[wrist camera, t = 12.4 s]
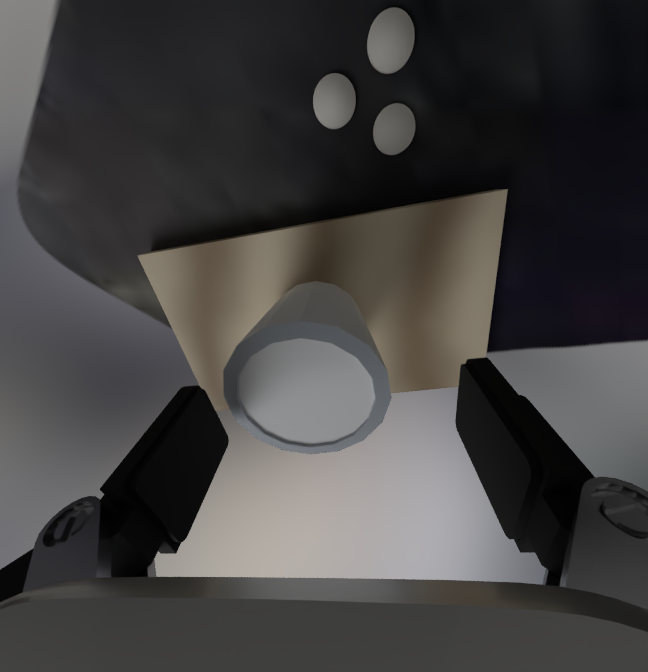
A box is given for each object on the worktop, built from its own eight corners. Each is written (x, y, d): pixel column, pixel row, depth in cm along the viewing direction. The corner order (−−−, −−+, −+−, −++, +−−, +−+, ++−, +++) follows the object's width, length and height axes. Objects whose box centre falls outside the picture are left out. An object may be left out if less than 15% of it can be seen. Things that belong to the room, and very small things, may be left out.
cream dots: (413, 4, 11) (414, 1, 11) (414, 150, 14) (415, 150, 13) (303, 33, 12) (302, 31, 12) (322, 169, 14) (322, 169, 14)
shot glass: (319, 385, 19) (311, 476, 13) (242, 324, 17) (188, 398, 11) (395, 324, 17) (428, 400, 11) (313, 244, 15) (296, 281, 9)
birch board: (494, 189, 14) (507, 189, 13) (474, 373, 20) (482, 384, 19) (150, 251, 16) (137, 255, 15) (218, 400, 22) (211, 411, 21)
